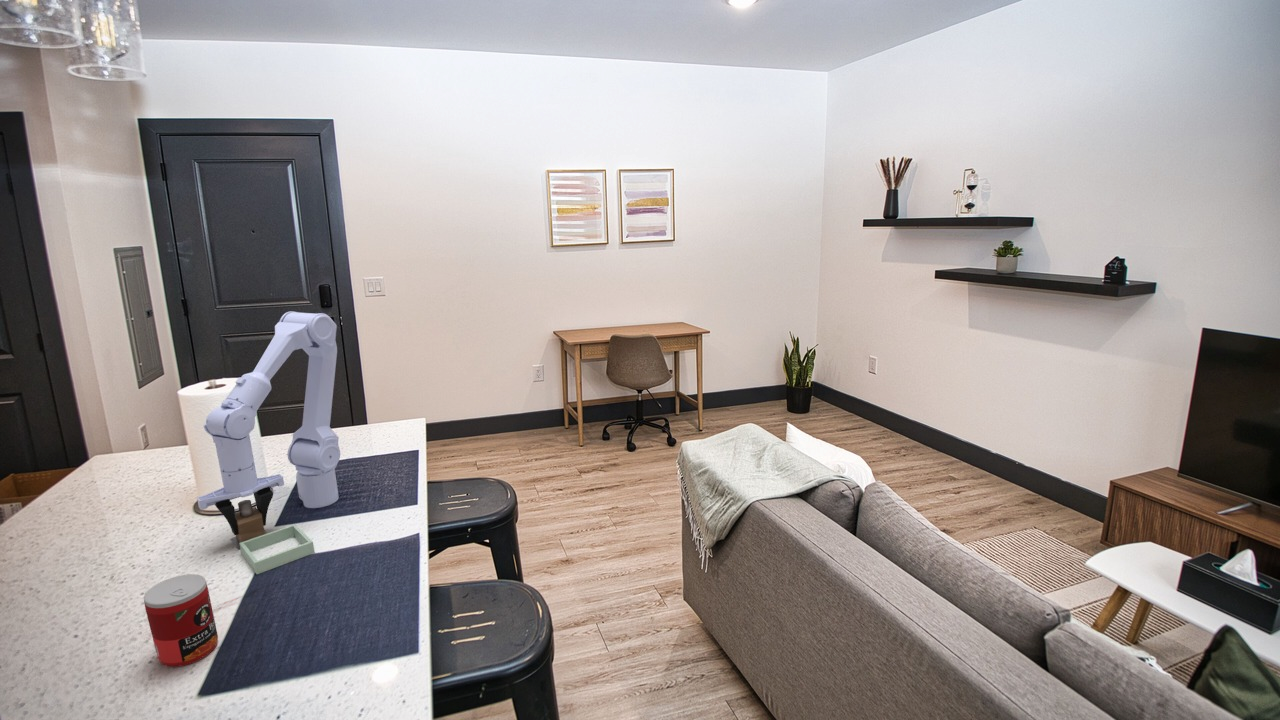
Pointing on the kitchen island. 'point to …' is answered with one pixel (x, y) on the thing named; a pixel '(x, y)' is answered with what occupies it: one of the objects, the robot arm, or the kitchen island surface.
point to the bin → (280, 557)
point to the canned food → (181, 619)
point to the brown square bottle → (248, 522)
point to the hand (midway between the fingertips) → (249, 528)
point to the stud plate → (238, 542)
